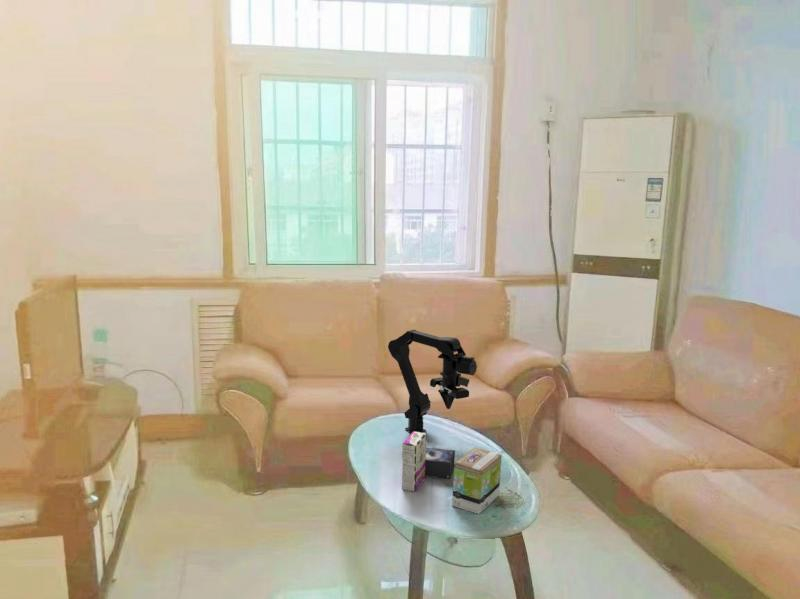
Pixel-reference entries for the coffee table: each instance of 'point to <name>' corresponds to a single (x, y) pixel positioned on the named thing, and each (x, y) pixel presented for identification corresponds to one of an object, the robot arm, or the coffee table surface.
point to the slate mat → (448, 481)
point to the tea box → (476, 480)
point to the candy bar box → (414, 461)
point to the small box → (439, 463)
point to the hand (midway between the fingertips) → (448, 408)
